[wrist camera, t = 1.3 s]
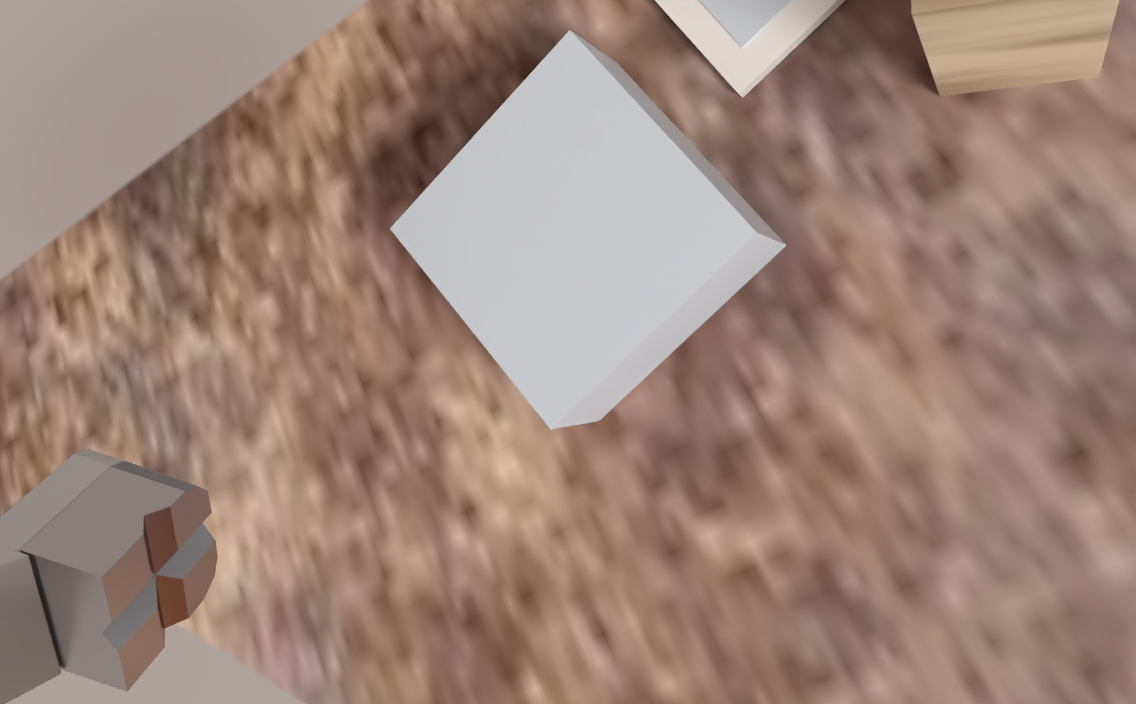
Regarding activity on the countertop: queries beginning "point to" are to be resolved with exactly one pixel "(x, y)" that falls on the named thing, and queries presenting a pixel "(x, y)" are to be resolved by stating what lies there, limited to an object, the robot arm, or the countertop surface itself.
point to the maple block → (1012, 41)
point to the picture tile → (747, 32)
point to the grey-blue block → (583, 235)
